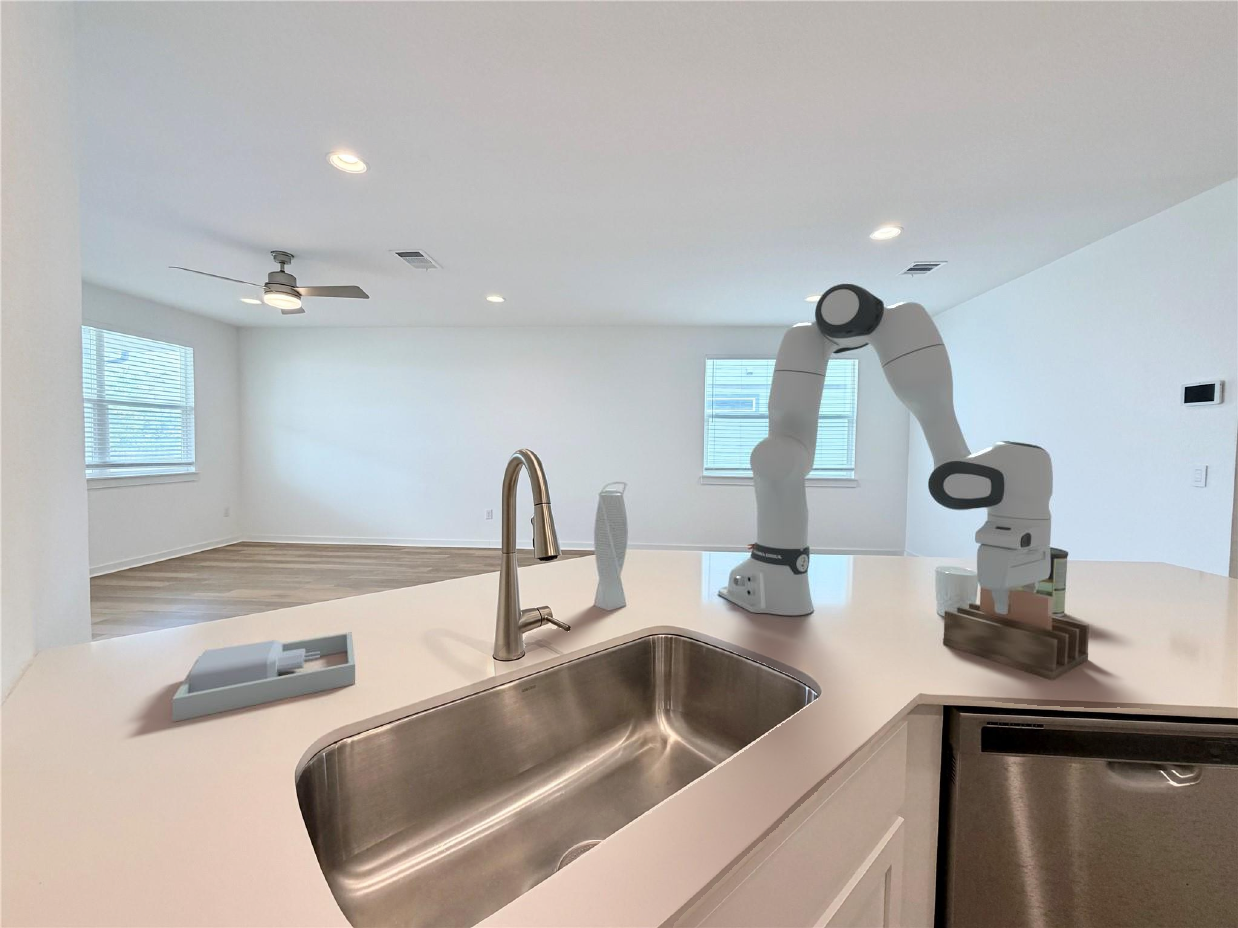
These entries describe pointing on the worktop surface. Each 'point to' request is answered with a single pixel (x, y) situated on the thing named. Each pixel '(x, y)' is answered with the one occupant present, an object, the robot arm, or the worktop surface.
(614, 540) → the skyscraper
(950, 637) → the dish rack
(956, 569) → the white cup
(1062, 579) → the coffee can
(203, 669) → the charger
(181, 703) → the tray
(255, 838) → the worktop surface
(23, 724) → the worktop surface
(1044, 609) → the tan wooden panel
